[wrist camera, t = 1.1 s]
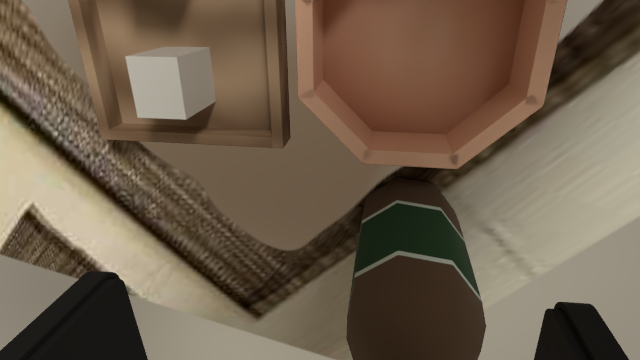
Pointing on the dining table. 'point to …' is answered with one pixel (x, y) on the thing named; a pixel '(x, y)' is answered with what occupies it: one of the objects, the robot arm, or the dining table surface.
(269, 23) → the walnut tray
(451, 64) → the bowl
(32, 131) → the dining table surface
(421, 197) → the beer bottle
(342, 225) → the dining table surface
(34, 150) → the dining table surface
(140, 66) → the white sharp-edged block
